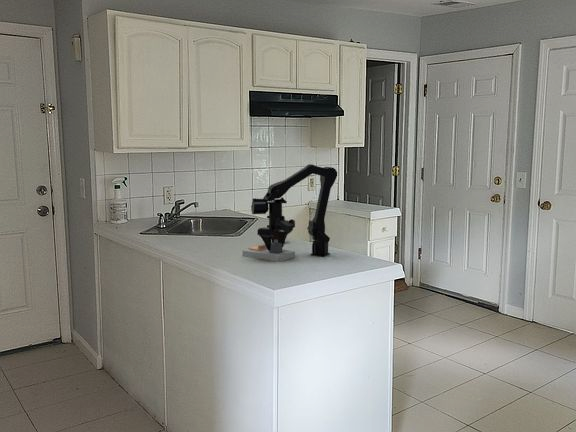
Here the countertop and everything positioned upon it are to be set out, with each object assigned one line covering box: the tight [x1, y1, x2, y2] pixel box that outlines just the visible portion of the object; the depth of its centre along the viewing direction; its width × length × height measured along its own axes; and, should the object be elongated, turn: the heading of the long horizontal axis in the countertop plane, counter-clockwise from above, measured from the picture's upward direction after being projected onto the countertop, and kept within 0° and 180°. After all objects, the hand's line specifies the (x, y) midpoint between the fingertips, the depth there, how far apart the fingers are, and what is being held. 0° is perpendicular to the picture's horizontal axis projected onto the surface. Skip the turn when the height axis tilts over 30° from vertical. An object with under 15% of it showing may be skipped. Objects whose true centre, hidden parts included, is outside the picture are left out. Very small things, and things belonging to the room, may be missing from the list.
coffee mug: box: [271, 231, 279, 243], centre depth 274 cm, size 12×9×10 cm
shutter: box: [247, 243, 267, 251], centre depth 248 cm, size 6×6×2 cm
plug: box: [269, 240, 283, 254], centre depth 243 cm, size 4×4×8 cm
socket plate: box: [241, 248, 296, 263], centre depth 245 cm, size 20×12×2 cm, turn 54°
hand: (275, 248), depth 243 cm, fingers open, 9 cm apart
